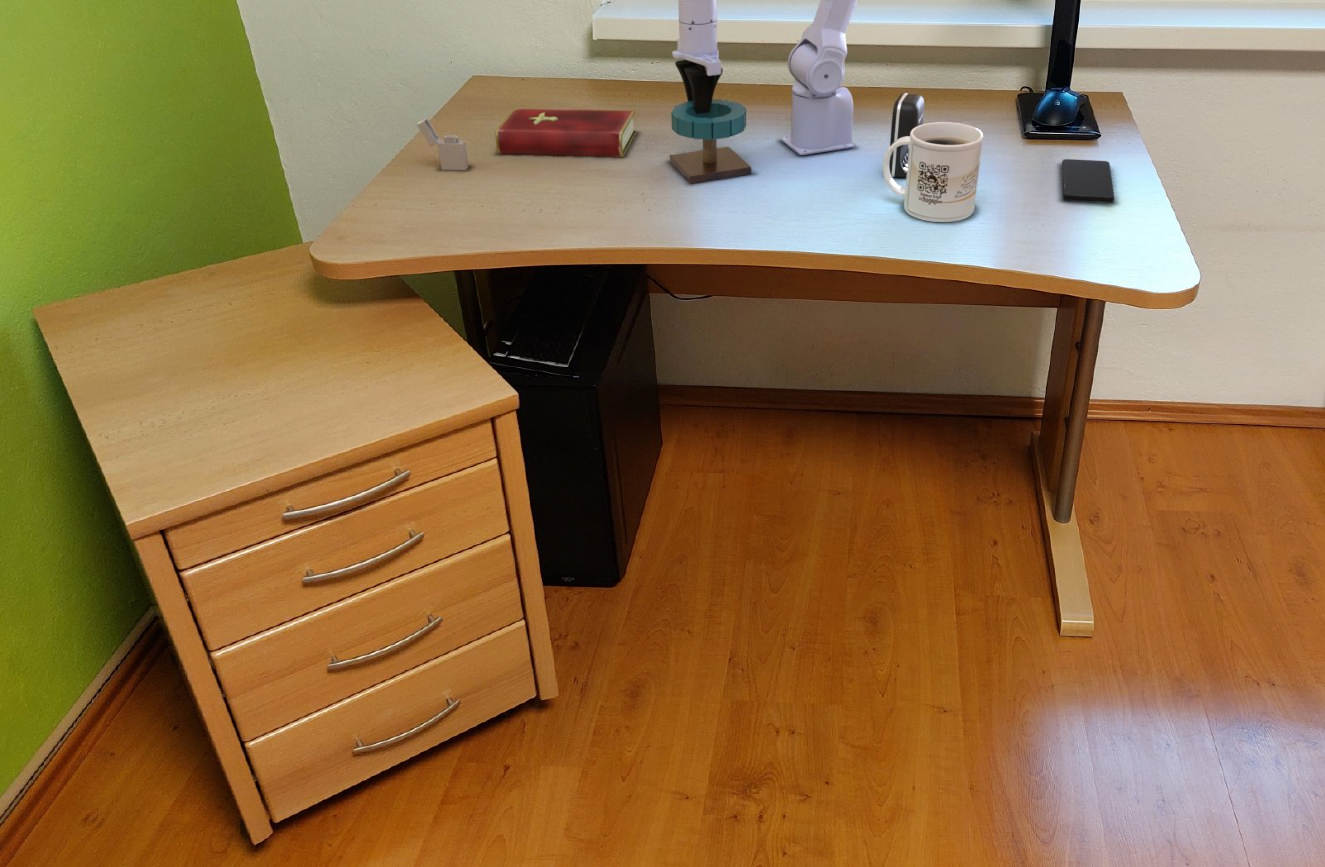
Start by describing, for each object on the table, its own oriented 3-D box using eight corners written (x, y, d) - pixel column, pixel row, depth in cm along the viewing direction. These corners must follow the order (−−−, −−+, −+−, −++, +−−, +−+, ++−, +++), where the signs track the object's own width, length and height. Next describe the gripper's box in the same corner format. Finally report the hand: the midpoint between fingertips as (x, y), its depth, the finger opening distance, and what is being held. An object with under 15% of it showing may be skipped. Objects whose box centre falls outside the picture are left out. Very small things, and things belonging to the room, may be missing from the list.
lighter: (468, 166, 183) (462, 117, 178) (465, 170, 181) (458, 121, 177) (426, 165, 184) (419, 116, 179) (423, 169, 182) (415, 120, 178)
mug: (929, 229, 156) (936, 151, 150) (876, 200, 165) (881, 126, 159) (988, 213, 160) (998, 136, 154) (933, 186, 169) (941, 113, 163)
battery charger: (911, 180, 171) (918, 105, 165) (886, 178, 172) (892, 103, 166) (920, 164, 177) (927, 91, 170) (896, 162, 178) (902, 89, 171)
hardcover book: (622, 158, 183) (621, 132, 181) (497, 154, 187) (494, 129, 184) (636, 133, 193) (634, 108, 191) (517, 130, 196) (514, 106, 194)
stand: (728, 153, 184) (728, 115, 180) (751, 174, 176) (751, 135, 172) (669, 162, 181) (668, 124, 178) (690, 183, 173) (689, 144, 170)
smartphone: (1063, 195, 162) (1062, 158, 174) (1062, 200, 163) (1061, 163, 175) (1114, 198, 160) (1109, 160, 172) (1113, 203, 161) (1108, 166, 173)
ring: (729, 111, 181) (729, 95, 179) (756, 133, 172) (756, 116, 170) (663, 121, 178) (662, 104, 176) (686, 143, 169) (686, 126, 167)
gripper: (657, 12, 175) (660, 99, 182) (688, 34, 163) (690, 127, 171) (700, 7, 176) (702, 94, 184) (734, 29, 165) (734, 120, 172)
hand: (699, 109), depth 177 cm, fingers closed on ring, 2 cm apart
